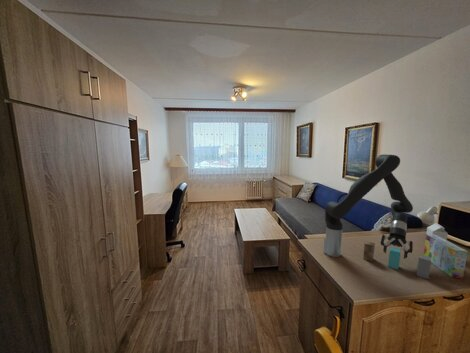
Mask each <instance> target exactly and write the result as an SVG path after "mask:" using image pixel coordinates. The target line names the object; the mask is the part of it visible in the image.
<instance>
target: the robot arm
mask: <svg viewBox="0 0 470 353" xmlns="http://www.w3.org/2000/svg"><path fill="white" fill-rule="evenodd" d="M374 164H375V166H376V168H375V169H374V170H373V171H370V172H368V173H366V174H364V175H362V176H360V177H359V178H357V179H356V180H355V181H354V182H353V183H352V184H351V186H350V187H349V190H348V192H347V195H346V196H345V197H344V199H342V200H341V201H339V202H338V201H332V200H331V201H329V202H328V203H327V204H326V206H325V211H324V212H325V213H324V216H325V217H324V218H325V221H324V222H325V225H326V226H325V237H324V239H323V252H322V253H323V254H326V255H327V256H329V257H332V258H339V257H340V256H342V255H341V254H342V240H343V229H344V228H343V227H344V226H343V223H342V222H341V219H344V218H345V217H346V216H347V215H348V214H349V212H350V211H351V210H352V209H353V208H354V207H355V206H356V205H357V203H359V201H361V200H362V199H363V198H364V197H365V196H366V195H368V193H369V192H371V191H372V190H373V189H374V188H375V187H376V186H377V185H378V184H379V183H380V182H382V180H384V183H385V185H386V187H387V189H388V190H387V191H388V194H389V195H390V198H391V200H394V201H392V203H391V204H390V209H391V214H392V217H391V224H390V229H389V235H388V236H386V235H385V234H382V235H381V239H380V246H383V249H382V250H383V252H384V254H387V250H388V247H391V245H392V246H395V247H398V248H402V249H401V250H403V251H404V254H403V259H407V258H408V253H410V254H413V248H414V247H413V244H414V243H413V241H412V240H410V241H408V240H407V239H406V238H407V231H408V230H407V229H408V226H407V225H408V216H407V215H406V214H410V213H411V212H413V210H414V208H413V207H414V205H413V204H412V203H411V201H410V200H409V198H408V197H407V196H406V195H405V191H404V188H403V186H402V183H400V181H399V180H398V179H397V177H395V175H394V174H393V172H394V171H395V170H397V169H398V167H399V166H400V164H401V158H400V157H399V156H398V155H395V154H379V155H378V156H376V157H375V161H374ZM404 213H405V214H404ZM385 240H388V241H387V242H385ZM406 244H407V246H408V247H409V248H407V247H406Z"/></svg>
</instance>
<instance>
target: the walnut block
mask: <svg viewBox="0 0 470 353" xmlns="http://www.w3.org/2000/svg"><path fill="white" fill-rule="evenodd" d="M375 246H376V243H375V242H372V241H368V240H365V242H364V246H363V257H362V258H363V260H365V261H368V262H373V260H374V256H375V255H374V254H375Z"/></svg>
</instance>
